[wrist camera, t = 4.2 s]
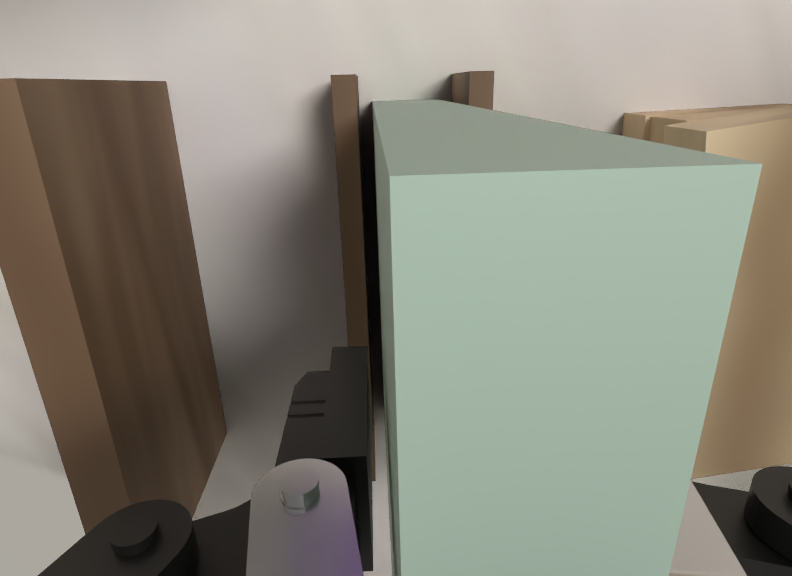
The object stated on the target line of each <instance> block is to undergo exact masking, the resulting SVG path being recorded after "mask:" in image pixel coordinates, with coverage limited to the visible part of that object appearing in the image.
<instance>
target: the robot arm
mask: <svg viewBox="0 0 792 576" xmlns="http://www.w3.org/2000/svg"><path fill="white" fill-rule="evenodd" d="M363 571H373V519H372V433H371V406H370V386H369V367H368V349H367V346H351V347H333V350H332V358H331V365H330V371H312V372H307V373H306V375H305V376H304V377H303V378H302V379H301V380H300V381H299V382H298V383H297V384H296V385H295V387H294V391H293V395H292V399H291V405H290V407H289V411H288V419H287V420H286V424H285V428H284V432H283V436H282V440H281V444H280V448H279V452H278V457H277V461H276V465H275V467H274V468H273V469H271V470H269V471H268V472H267V473H266V474H264V475H263V476H262V477H261V478H260V479H259V481H258V482H257V483H256V485H255V486H254V489H253V491H252V495H251V499H250V500H249V501H247V502H245V503H244V504H242V505H240V506H238V507H235V508H233V509H230V510H227V511H225V512H221V513H218V514H215V515H211V516H208V517H205V518H202V519H198V520H195V521H192V518H191V515H190V513H189V511H188V510H187V509H186V508H185V507H184V506H183V505H181V504H179V503H177V502H175V501H171V500H162V499H158V500H148V501H143V502H139V503H136V504H132V505H130V506H127V507H125V508H123V509H121V510H119V511H117V512H115V513H113V514H112V515H110V516H108V517H107V518H105V519H104V520H103V521H101V522H100V523H99V524H98V525H96V526H95V527H94V528H93V529H92V530H91V531H89V532H88V533H87V534H86V535H85V536H84V537H82V538H81V539H80V540H79V541H78V542H77V543H75V544H74V545H73V546H72V547H71V548H70V549H68V550H67V551H66V552H65V553H64V554H63V555H61V556H60V557H59V558H58V559H57V560H56V561H54V562H53V563H52V564H51V565H50V566H49V567H47V568H46V569H45V570H44V571H43V572H42V573H40V574H39V575H38V576H364V575H363ZM669 576H792V467H782V466H777V467H768V468H764V469H762V470H759V471H758V472H757V473H756V474H755V475H754V477H753V479H752V483H751V486H750V490H749V492H746V491H740V490H735V489H729V488H723V487H717V486H711V485H705V484H701V483H696V482H692V481H690V485H689V490H688V494H687V498H686V503H685V507H684V511H683V516H682V520H681V525H680V529H679V533H678V538H677V542H676V547H675V551H674V555H673V560H672V564H671V569H670V573H669Z"/></svg>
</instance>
